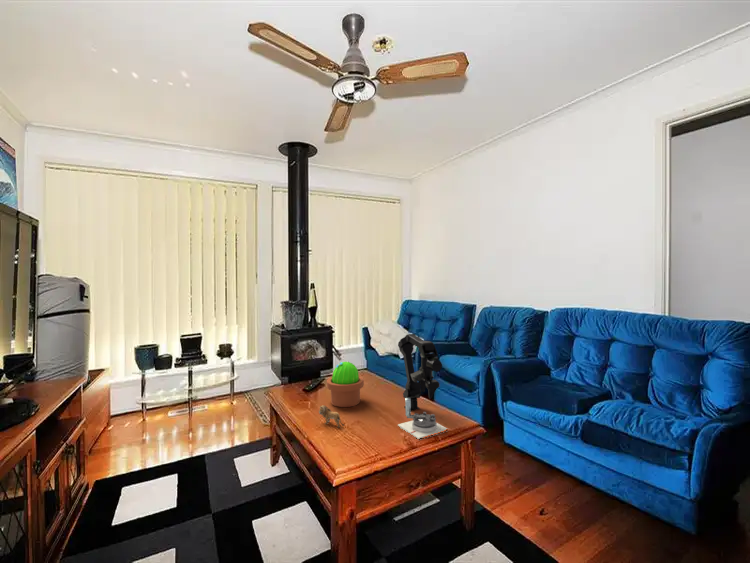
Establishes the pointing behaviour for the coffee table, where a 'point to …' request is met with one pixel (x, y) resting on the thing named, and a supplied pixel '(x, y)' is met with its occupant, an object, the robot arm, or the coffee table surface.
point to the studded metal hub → (419, 416)
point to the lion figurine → (330, 415)
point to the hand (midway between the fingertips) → (426, 395)
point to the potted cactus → (345, 385)
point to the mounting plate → (418, 434)
